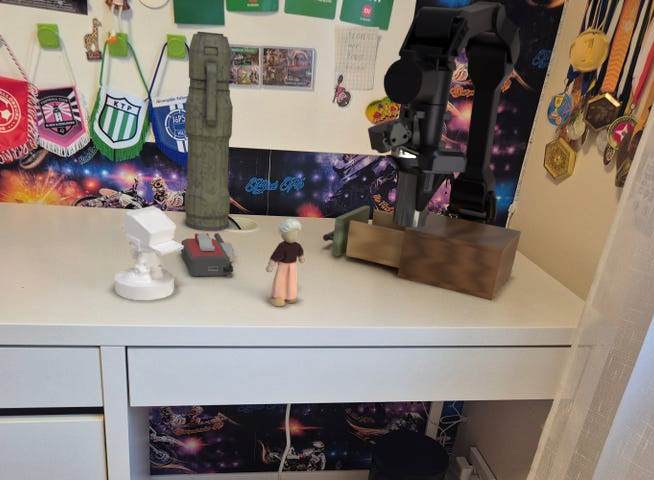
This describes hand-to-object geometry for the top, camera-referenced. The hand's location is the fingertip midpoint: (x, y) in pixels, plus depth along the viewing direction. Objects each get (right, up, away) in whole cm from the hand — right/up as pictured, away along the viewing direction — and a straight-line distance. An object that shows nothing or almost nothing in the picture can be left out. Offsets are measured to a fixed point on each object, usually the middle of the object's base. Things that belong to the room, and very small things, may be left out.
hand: (411, 206), depth 103 cm
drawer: (-4, -5, +17) cm, 18 cm away
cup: (0, -2, +1) cm, 3 cm away
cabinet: (+10, -10, +12) cm, 18 cm away
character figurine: (-41, -14, -7) cm, 44 cm away
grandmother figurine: (-20, -16, -6) cm, 26 cm away
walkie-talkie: (-34, -7, +9) cm, 36 cm away
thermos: (-37, +3, +28) cm, 46 cm away
